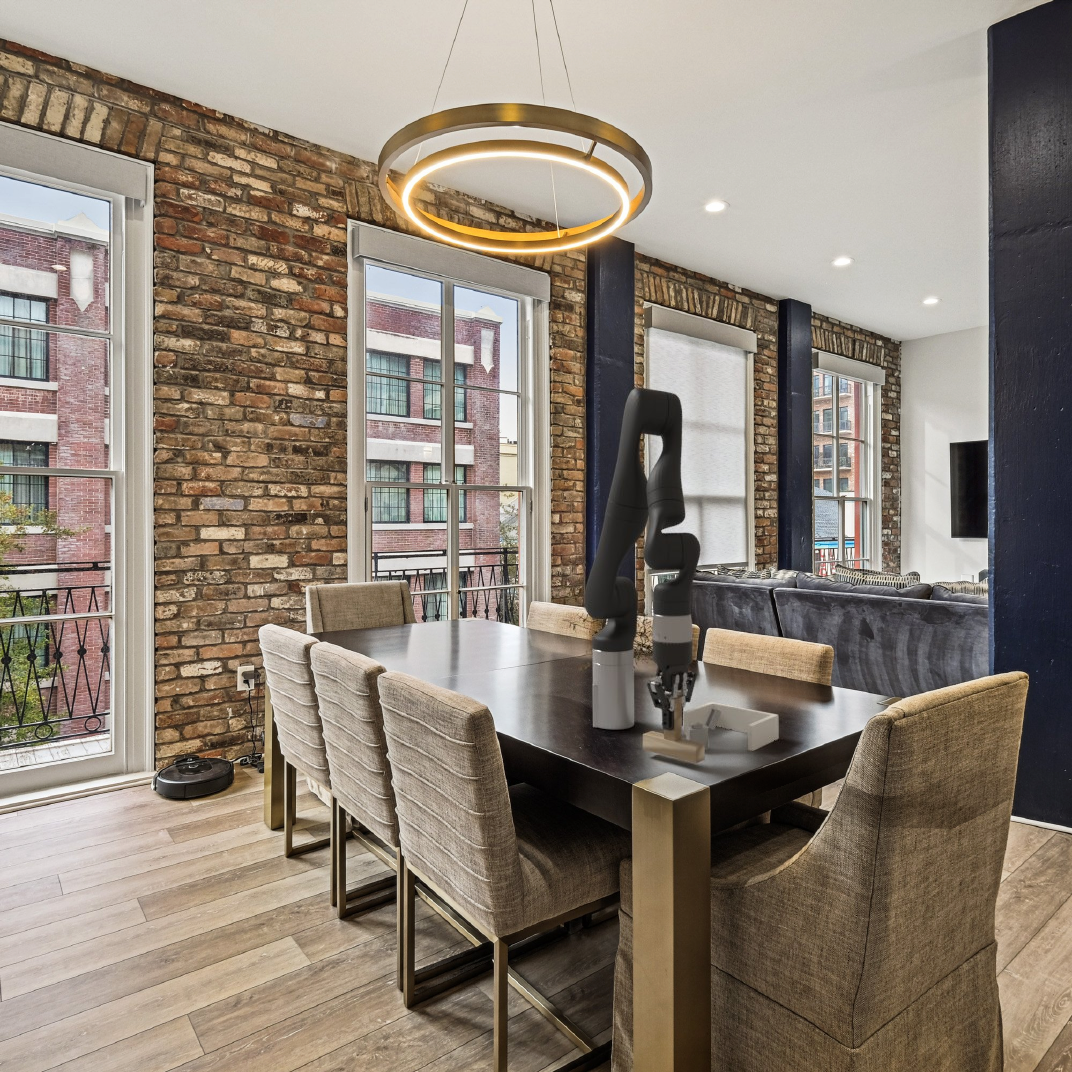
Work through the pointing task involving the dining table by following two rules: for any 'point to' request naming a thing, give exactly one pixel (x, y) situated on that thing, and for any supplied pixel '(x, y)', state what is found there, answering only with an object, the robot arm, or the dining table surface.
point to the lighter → (703, 728)
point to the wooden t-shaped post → (674, 740)
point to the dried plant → (634, 640)
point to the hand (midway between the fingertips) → (672, 727)
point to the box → (738, 722)
